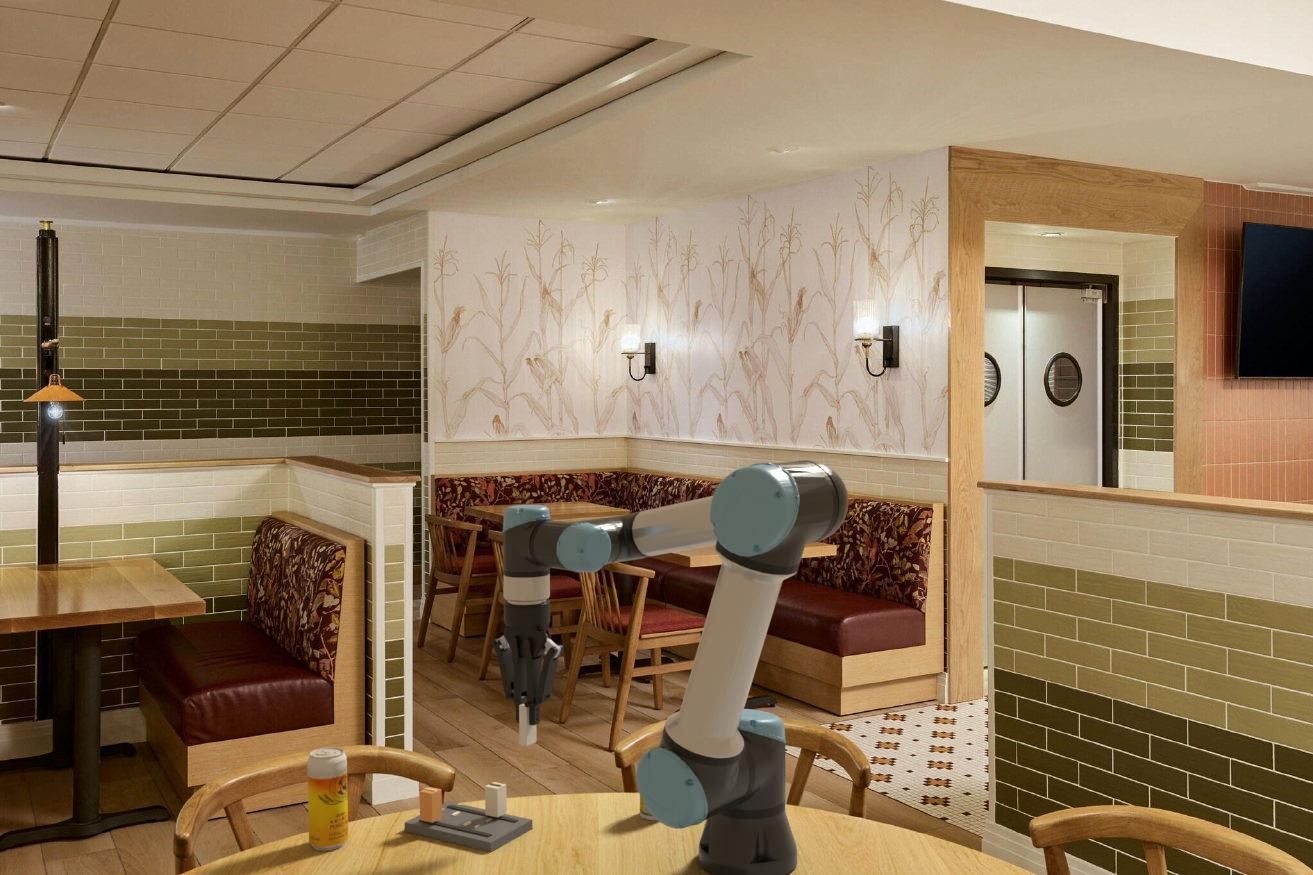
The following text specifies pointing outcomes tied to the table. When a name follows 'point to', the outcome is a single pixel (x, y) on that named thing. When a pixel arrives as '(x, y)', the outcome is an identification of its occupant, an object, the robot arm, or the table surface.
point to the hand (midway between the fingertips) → (528, 743)
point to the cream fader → (495, 799)
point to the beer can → (327, 798)
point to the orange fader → (430, 804)
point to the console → (471, 827)
